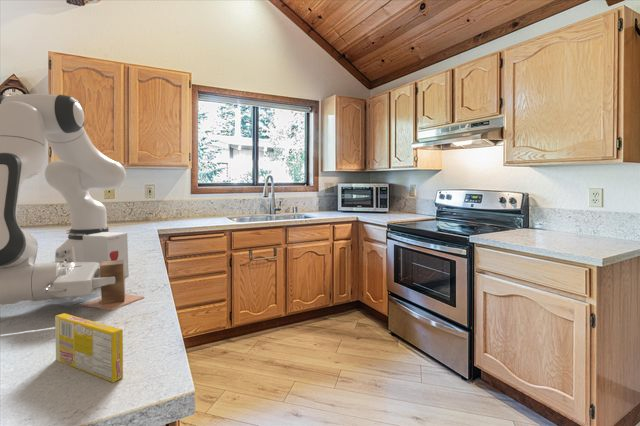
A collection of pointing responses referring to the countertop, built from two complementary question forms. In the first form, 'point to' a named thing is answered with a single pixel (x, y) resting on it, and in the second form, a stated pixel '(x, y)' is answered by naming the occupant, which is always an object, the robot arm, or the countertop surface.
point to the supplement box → (106, 248)
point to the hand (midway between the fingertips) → (116, 274)
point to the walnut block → (117, 290)
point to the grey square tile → (72, 299)
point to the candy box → (89, 346)
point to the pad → (112, 306)
